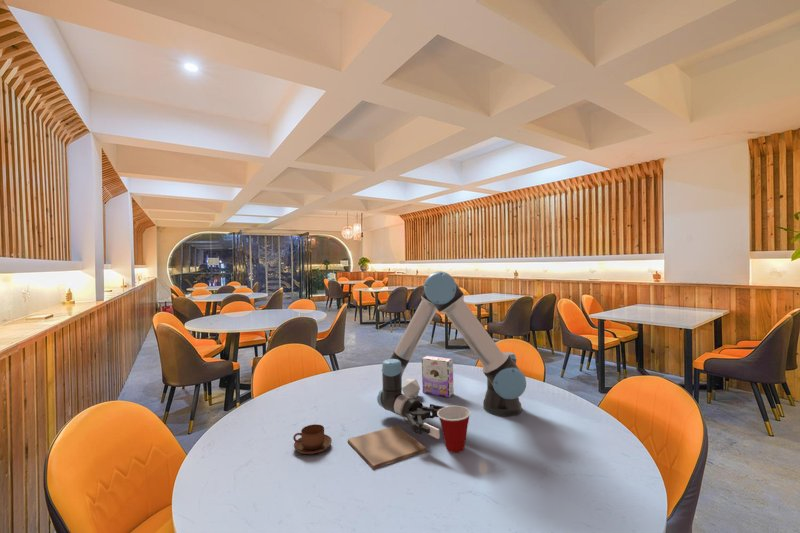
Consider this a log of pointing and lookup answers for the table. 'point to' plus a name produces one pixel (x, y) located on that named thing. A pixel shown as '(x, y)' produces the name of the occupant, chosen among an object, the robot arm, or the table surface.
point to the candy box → (437, 376)
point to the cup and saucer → (312, 440)
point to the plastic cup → (454, 426)
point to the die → (411, 388)
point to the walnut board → (386, 446)
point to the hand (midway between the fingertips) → (453, 427)
